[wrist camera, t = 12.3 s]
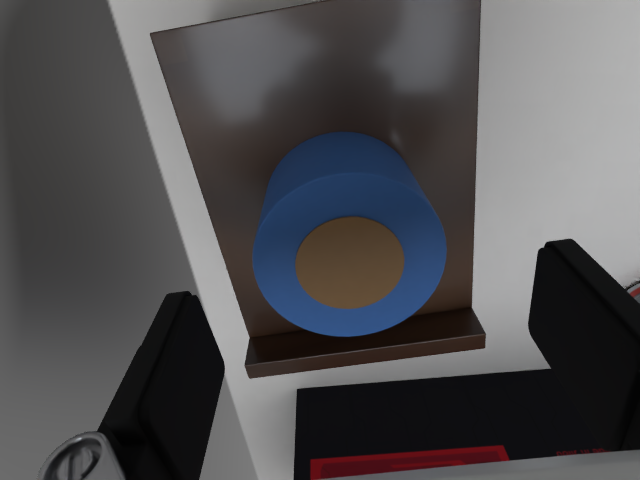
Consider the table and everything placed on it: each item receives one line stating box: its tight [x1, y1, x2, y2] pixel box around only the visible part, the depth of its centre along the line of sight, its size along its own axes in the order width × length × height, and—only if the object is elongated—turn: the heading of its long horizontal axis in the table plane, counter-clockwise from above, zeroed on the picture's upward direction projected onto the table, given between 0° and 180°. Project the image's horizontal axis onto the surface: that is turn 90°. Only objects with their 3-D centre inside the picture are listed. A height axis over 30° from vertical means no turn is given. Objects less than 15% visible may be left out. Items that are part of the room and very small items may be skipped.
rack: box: [150, 0, 486, 379], centre depth 22 cm, size 16×12×12 cm
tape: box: [252, 132, 447, 337], centre depth 16 cm, size 7×7×5 cm
